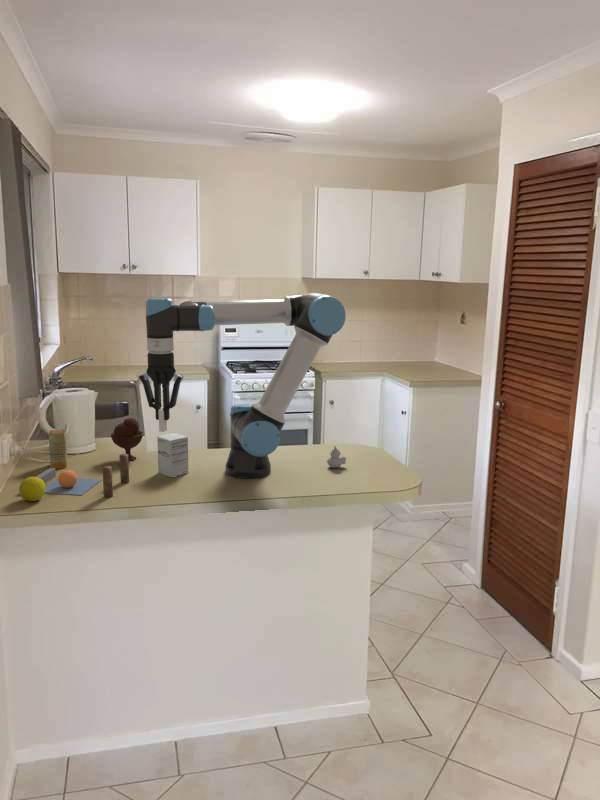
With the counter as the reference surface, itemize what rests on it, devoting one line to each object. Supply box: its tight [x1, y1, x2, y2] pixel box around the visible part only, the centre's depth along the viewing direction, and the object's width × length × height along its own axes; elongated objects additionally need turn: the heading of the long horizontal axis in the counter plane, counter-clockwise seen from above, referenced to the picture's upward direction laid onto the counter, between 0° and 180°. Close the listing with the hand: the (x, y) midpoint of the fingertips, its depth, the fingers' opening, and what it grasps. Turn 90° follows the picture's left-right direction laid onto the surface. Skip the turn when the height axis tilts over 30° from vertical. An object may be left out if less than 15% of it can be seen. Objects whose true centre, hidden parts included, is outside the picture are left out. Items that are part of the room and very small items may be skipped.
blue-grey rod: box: [35, 467, 57, 484], centre depth 203 cm, size 2×16×2 cm, turn 173°
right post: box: [119, 453, 130, 485], centre depth 205 cm, size 3×3×9 cm
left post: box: [102, 465, 114, 499], centre depth 193 cm, size 3×3×9 cm
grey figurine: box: [326, 445, 347, 469], centre depth 224 cm, size 5×7×8 cm
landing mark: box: [44, 477, 103, 496], centre depth 202 cm, size 14×14×1 cm
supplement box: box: [156, 432, 189, 478], centre depth 215 cm, size 7×7×13 cm
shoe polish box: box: [48, 429, 68, 469], centre depth 220 cm, size 5×5×12 cm
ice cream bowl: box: [110, 417, 144, 462], centre depth 228 cm, size 11×11×15 cm
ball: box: [57, 469, 78, 488], centre depth 200 cm, size 6×6×6 cm
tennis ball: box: [18, 476, 46, 502], centre depth 189 cm, size 7×7×7 cm
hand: (163, 430), depth 194 cm, fingers closed
